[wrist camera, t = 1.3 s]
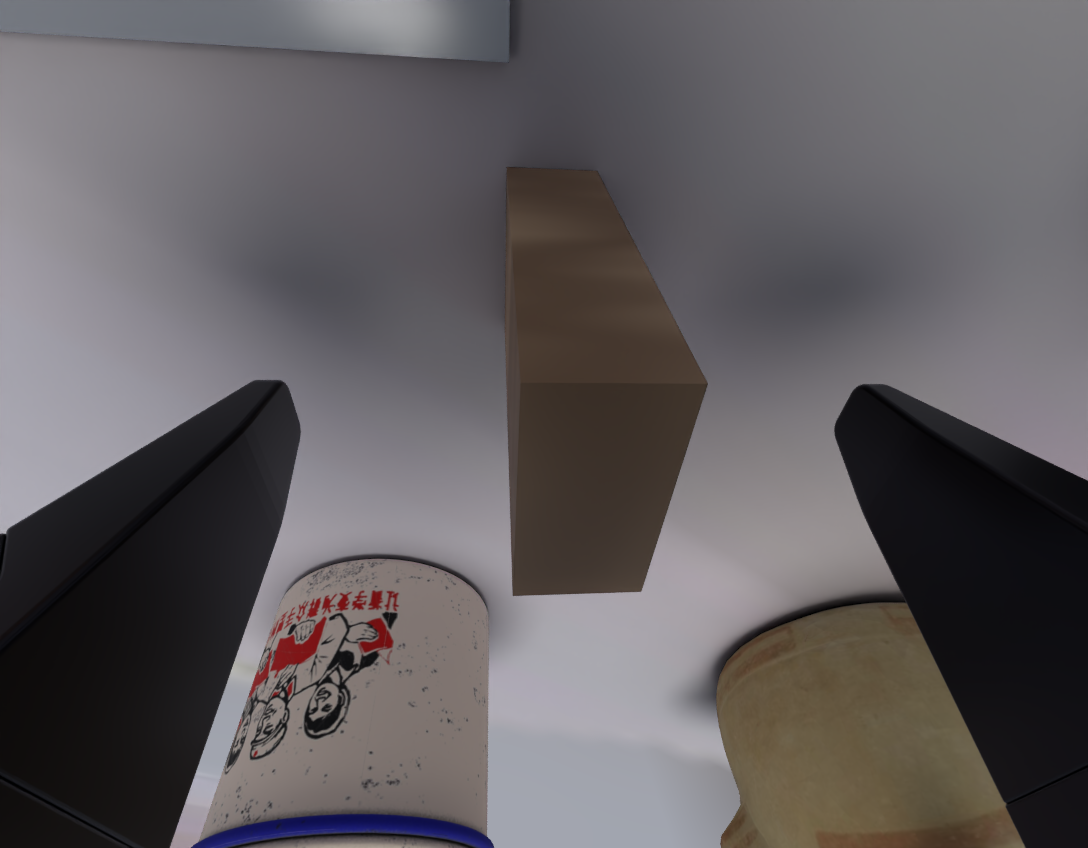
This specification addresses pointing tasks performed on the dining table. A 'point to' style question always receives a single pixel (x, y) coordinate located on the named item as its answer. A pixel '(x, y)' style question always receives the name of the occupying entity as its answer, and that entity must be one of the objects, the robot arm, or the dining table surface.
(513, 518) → the beveled wooden wedge block
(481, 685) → the teacup with lid
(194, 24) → the slate board
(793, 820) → the ceramic vessel
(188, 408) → the dining table surface
